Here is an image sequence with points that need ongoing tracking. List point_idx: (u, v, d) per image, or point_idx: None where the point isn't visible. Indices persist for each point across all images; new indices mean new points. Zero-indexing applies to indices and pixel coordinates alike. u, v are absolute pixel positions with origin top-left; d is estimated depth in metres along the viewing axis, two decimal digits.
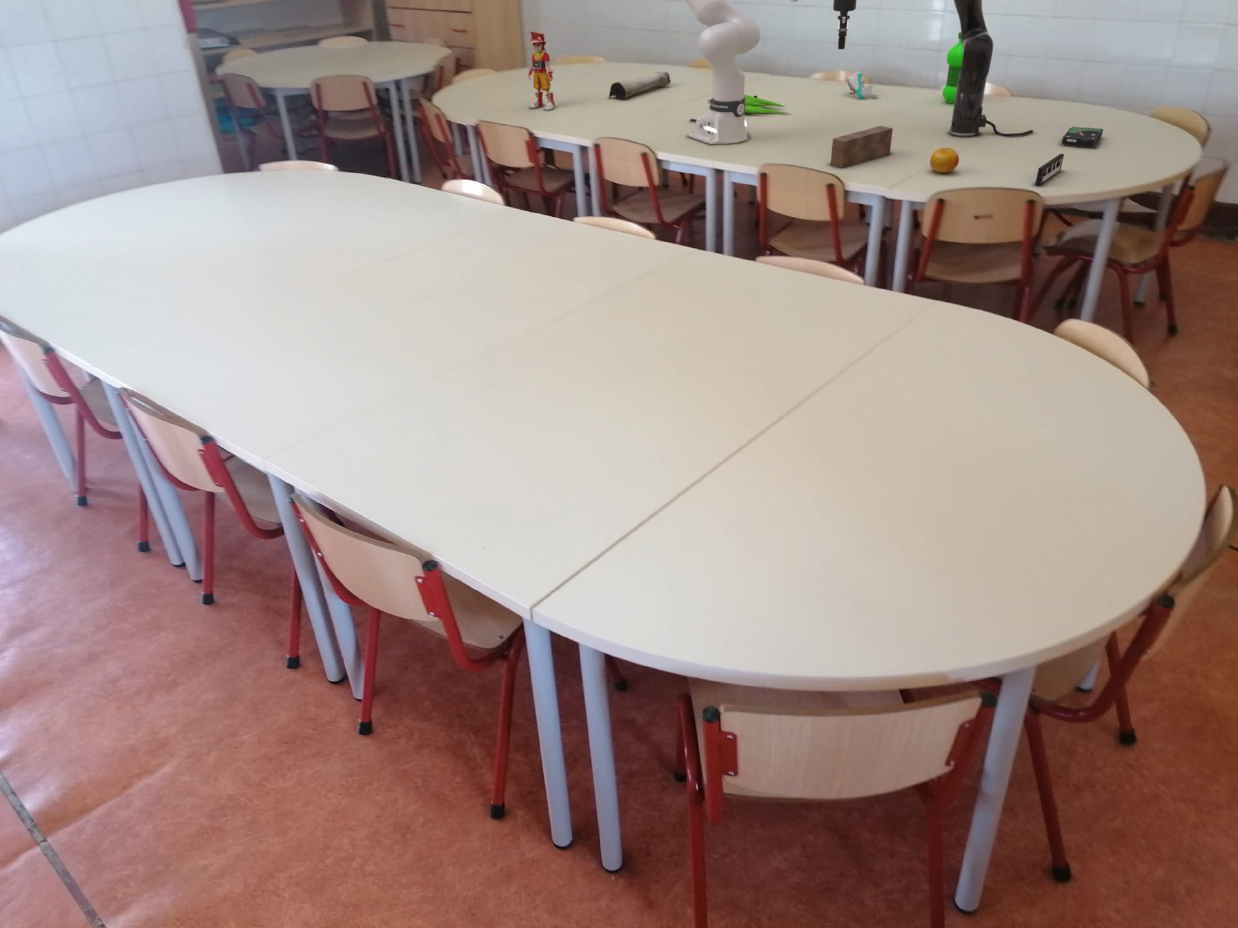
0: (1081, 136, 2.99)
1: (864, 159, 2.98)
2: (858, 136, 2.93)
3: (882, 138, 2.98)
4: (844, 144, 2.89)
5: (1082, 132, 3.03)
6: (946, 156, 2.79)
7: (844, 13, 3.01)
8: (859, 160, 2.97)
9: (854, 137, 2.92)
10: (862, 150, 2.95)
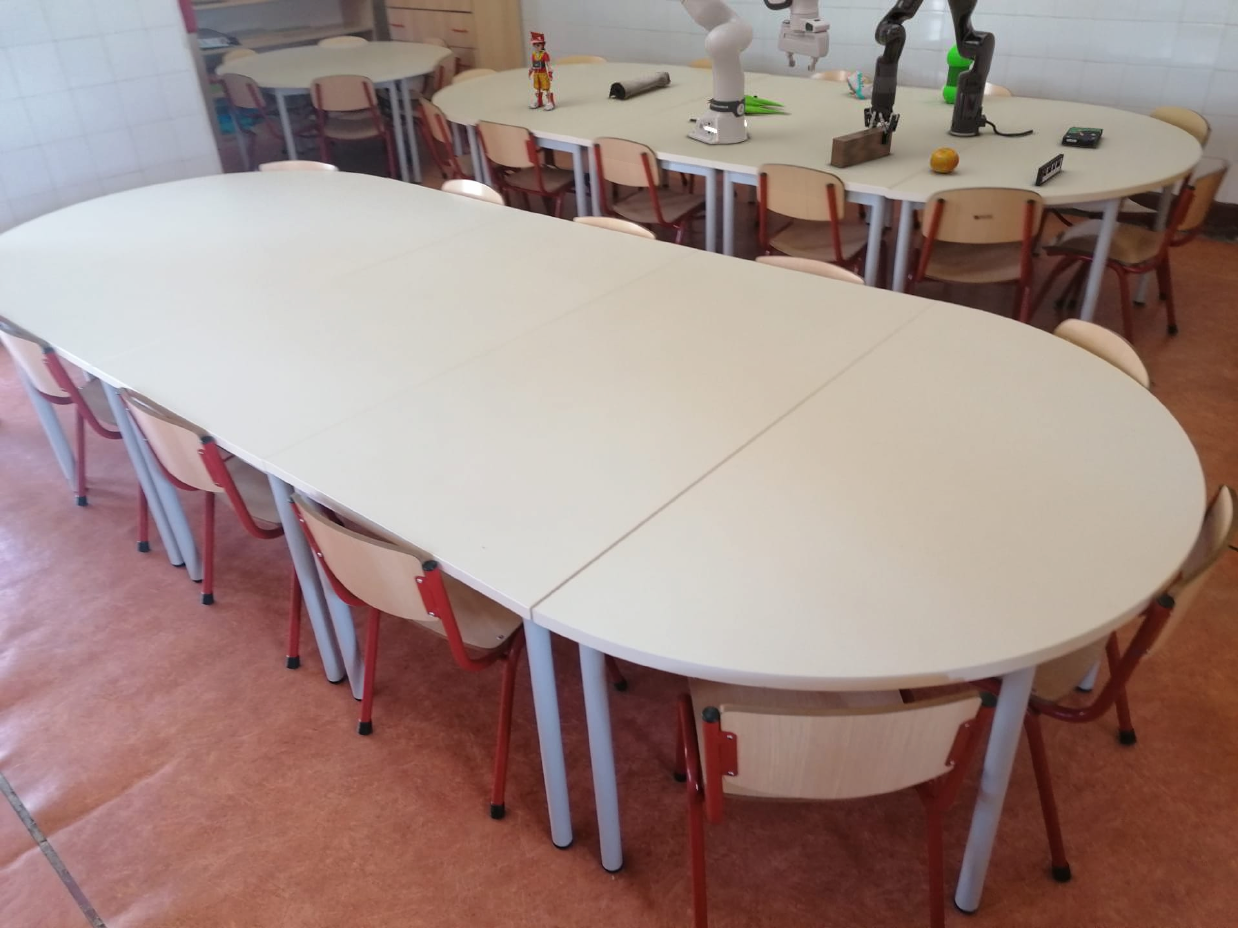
0: (1081, 136, 2.99)
1: (864, 159, 2.98)
2: (858, 136, 2.93)
3: None
4: (844, 144, 2.89)
5: (1082, 132, 3.03)
6: (946, 156, 2.79)
7: None
8: (859, 160, 2.97)
9: (854, 137, 2.92)
10: (862, 149, 2.95)
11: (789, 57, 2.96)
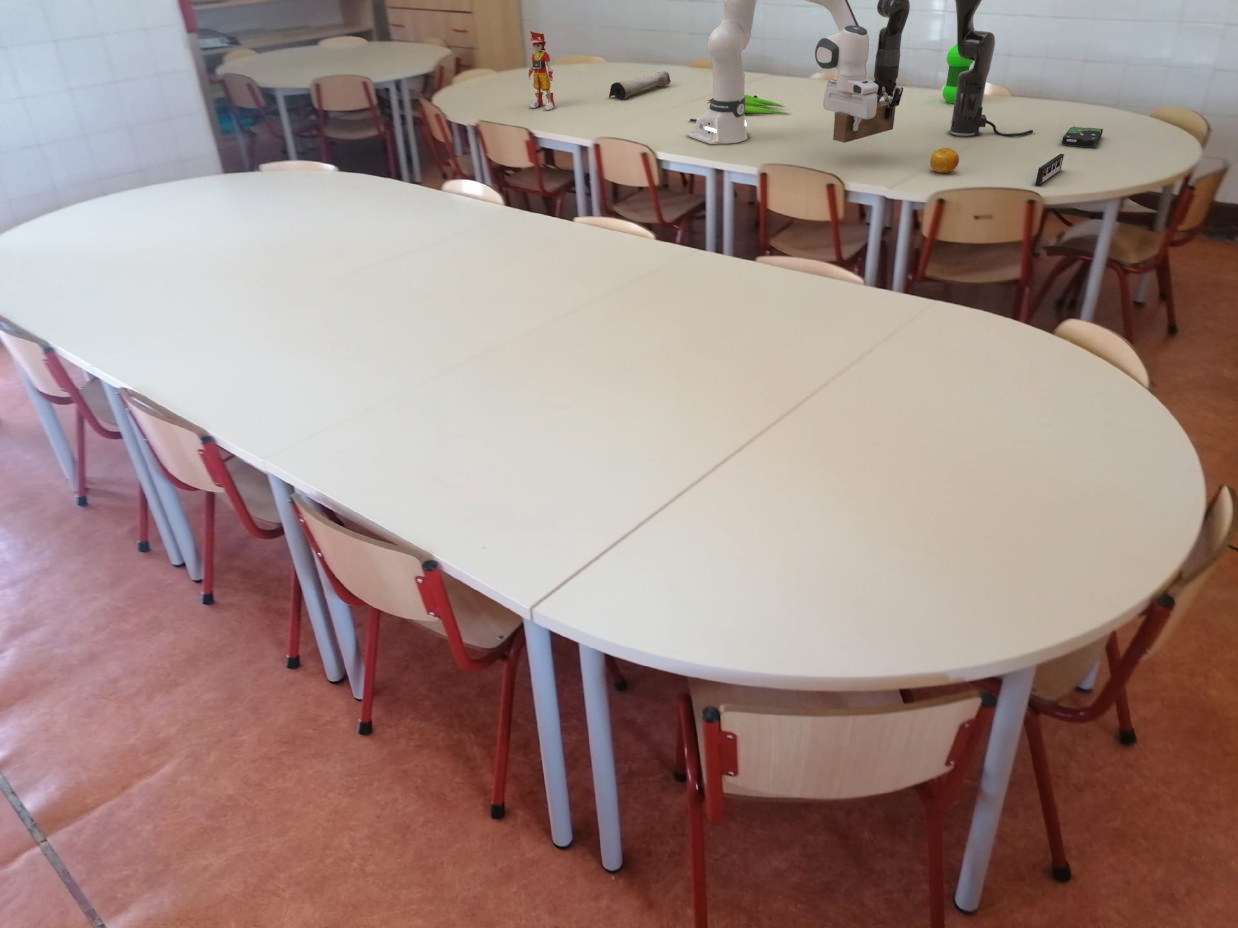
0: (1081, 136, 2.99)
1: (867, 134, 2.93)
2: None
3: (885, 112, 2.93)
4: (847, 118, 2.85)
5: (1082, 132, 3.03)
6: (946, 156, 2.79)
7: None
8: (862, 135, 2.92)
9: None
10: (865, 124, 2.90)
11: None
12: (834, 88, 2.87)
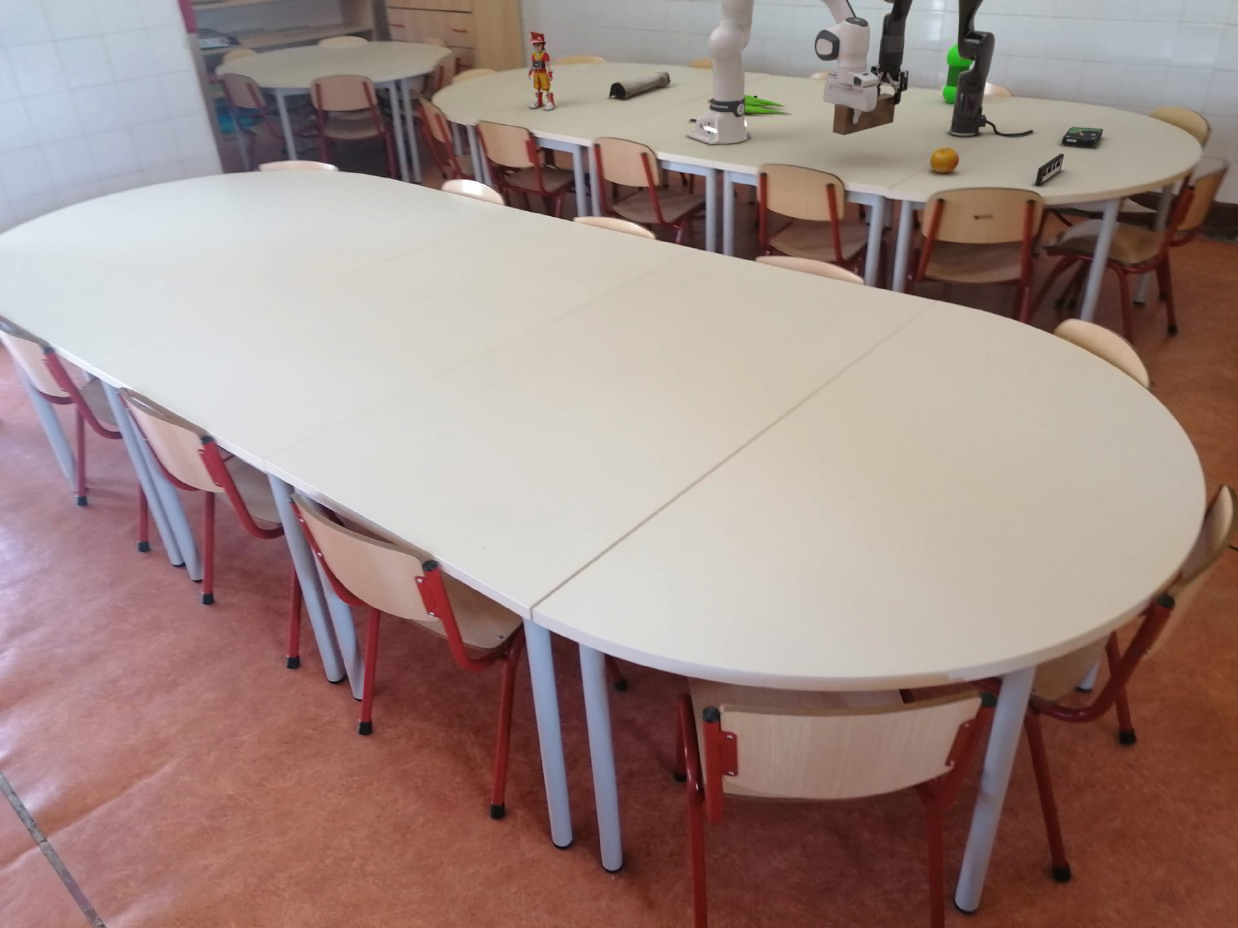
0: (1081, 136, 2.99)
1: (867, 127, 2.92)
2: None
3: (885, 105, 2.92)
4: (847, 110, 2.84)
5: (1082, 132, 3.03)
6: (946, 156, 2.79)
7: None
8: (862, 128, 2.91)
9: None
10: (865, 117, 2.89)
11: None
12: (834, 80, 2.85)
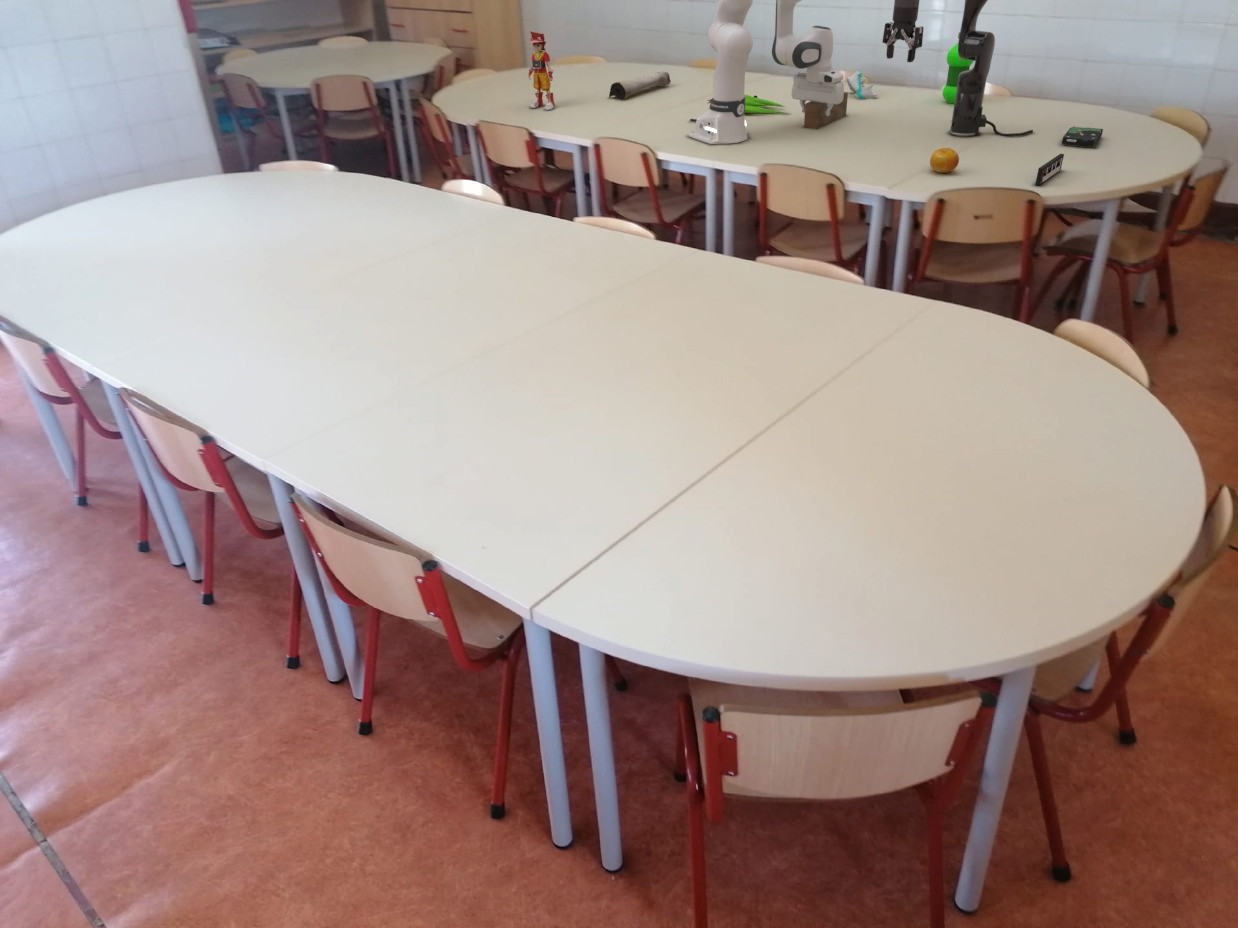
0: (1081, 136, 2.99)
1: (830, 120, 3.39)
2: None
3: None
4: (817, 107, 3.29)
5: (1082, 132, 3.03)
6: (946, 156, 2.79)
7: None
8: (827, 121, 3.38)
9: None
10: None
11: (803, 104, 3.36)
12: (803, 79, 3.30)
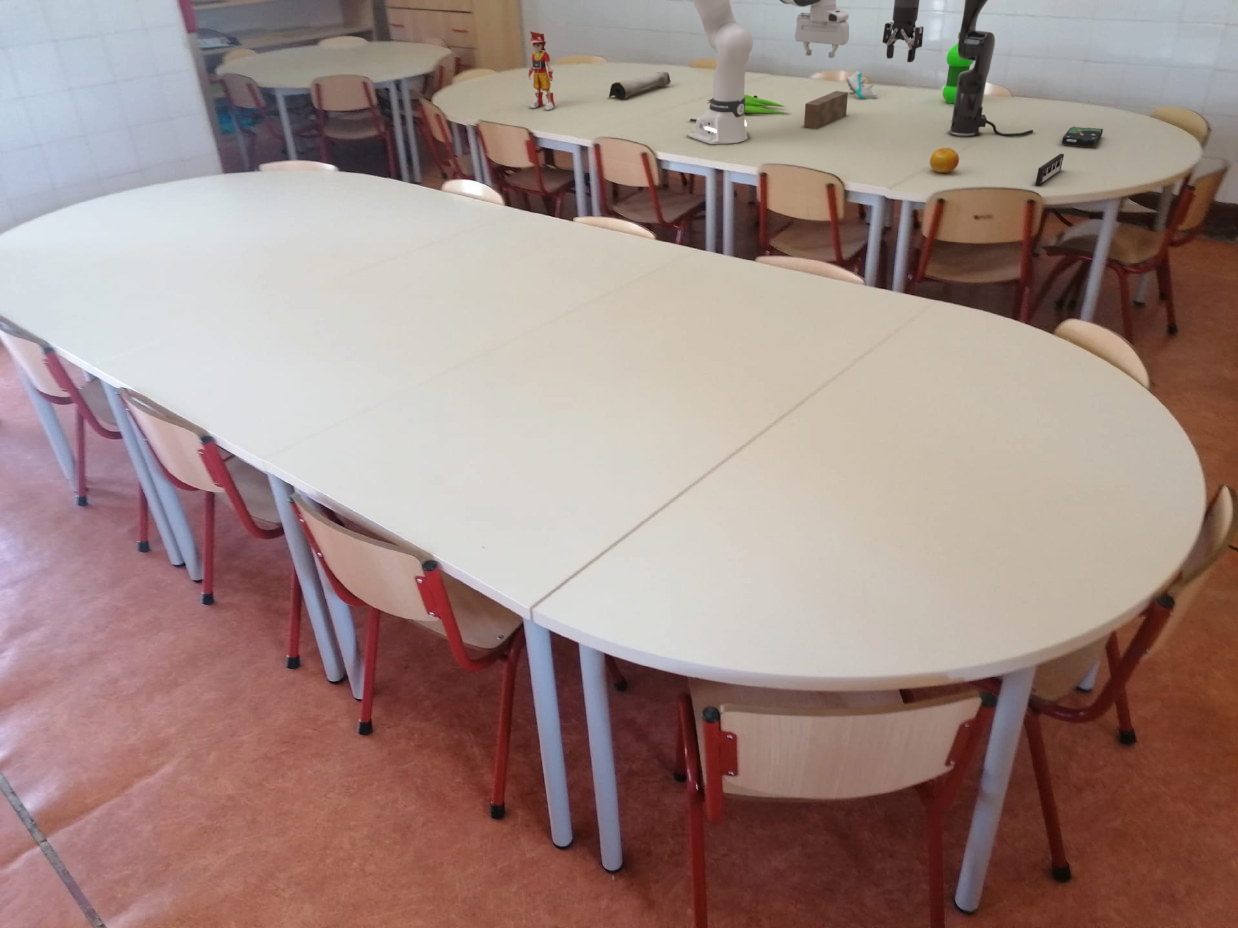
0: (1081, 136, 2.99)
1: (830, 120, 3.39)
2: (825, 100, 3.34)
3: (841, 101, 3.41)
4: (817, 107, 3.29)
5: (1082, 132, 3.03)
6: (946, 156, 2.79)
7: None
8: (827, 121, 3.38)
9: (823, 101, 3.33)
10: (828, 112, 3.37)
11: (806, 47, 3.25)
12: (806, 20, 3.19)
